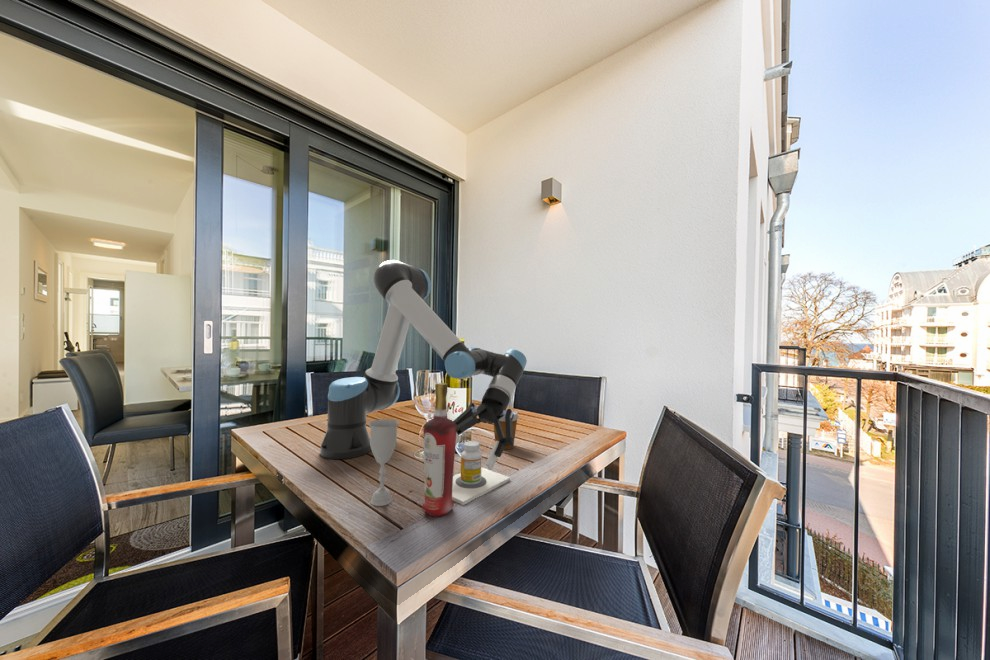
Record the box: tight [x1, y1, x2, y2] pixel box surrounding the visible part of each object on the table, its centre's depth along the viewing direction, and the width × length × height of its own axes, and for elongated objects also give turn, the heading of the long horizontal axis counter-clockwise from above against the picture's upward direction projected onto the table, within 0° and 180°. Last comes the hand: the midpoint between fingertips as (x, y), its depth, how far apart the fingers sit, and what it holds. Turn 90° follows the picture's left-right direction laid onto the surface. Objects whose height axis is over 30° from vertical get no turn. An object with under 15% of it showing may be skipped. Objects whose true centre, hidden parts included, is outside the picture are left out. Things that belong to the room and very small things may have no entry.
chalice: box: [368, 418, 400, 507], centre depth 79 cm, size 7×7×18 cm
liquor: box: [422, 382, 457, 518], centre depth 75 cm, size 7×7×28 cm
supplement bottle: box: [460, 440, 483, 485], centre depth 89 cm, size 5×5×10 cm
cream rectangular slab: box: [452, 467, 511, 506], centre depth 89 cm, size 18×12×1 cm, turn 141°
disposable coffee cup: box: [492, 409, 520, 450], centre depth 120 cm, size 10×10×12 cm
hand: (466, 461), depth 87 cm, fingers open, 13 cm apart
